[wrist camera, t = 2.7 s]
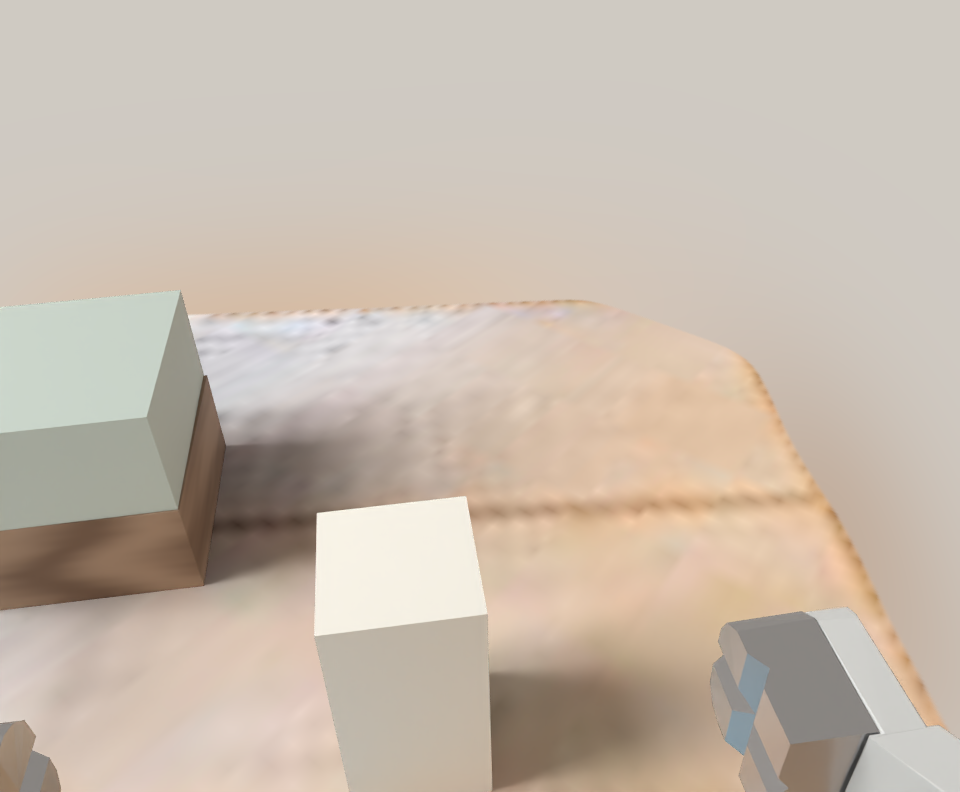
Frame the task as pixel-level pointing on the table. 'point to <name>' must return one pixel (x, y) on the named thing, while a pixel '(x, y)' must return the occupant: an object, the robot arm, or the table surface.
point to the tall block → (405, 646)
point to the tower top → (95, 408)
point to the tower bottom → (122, 539)
